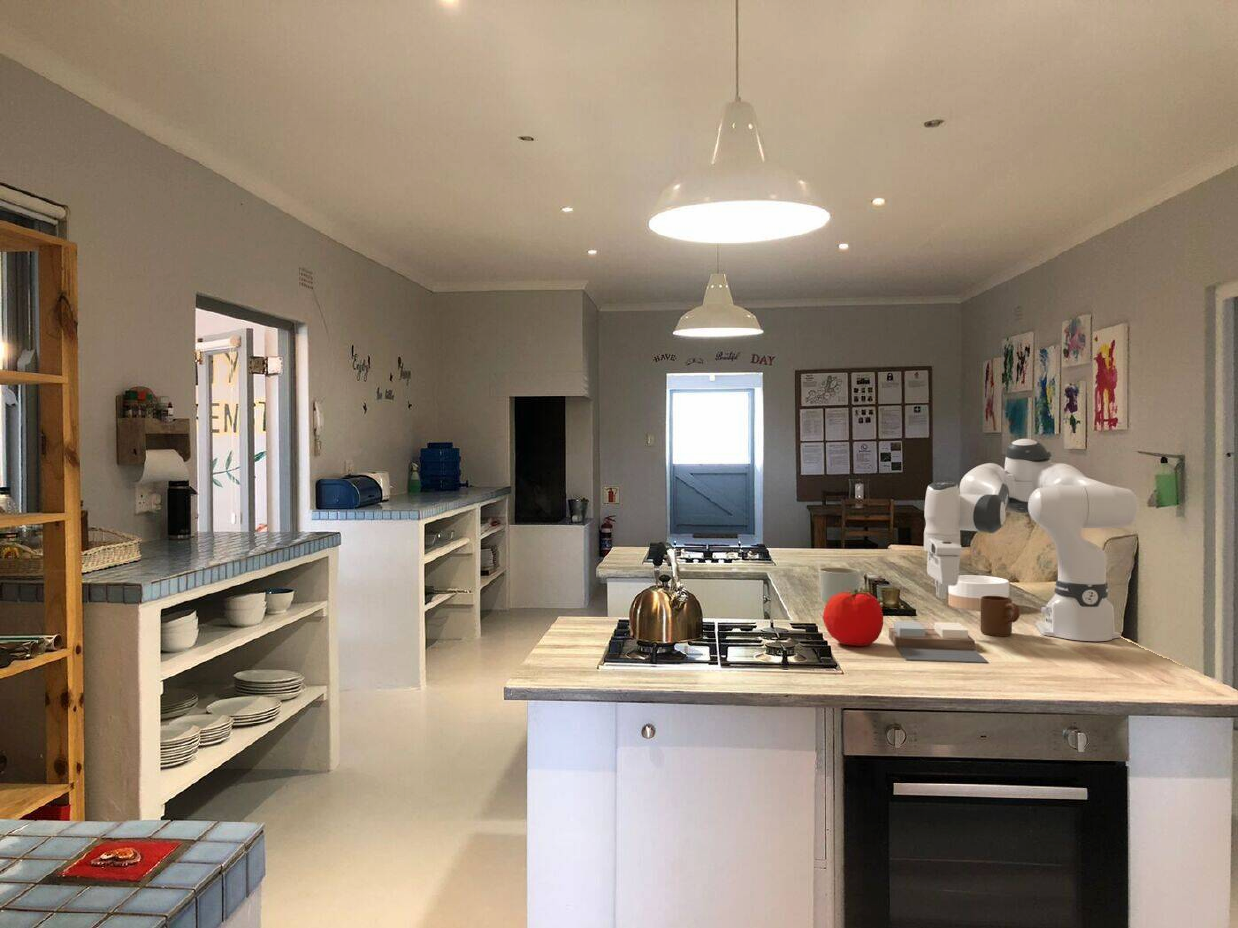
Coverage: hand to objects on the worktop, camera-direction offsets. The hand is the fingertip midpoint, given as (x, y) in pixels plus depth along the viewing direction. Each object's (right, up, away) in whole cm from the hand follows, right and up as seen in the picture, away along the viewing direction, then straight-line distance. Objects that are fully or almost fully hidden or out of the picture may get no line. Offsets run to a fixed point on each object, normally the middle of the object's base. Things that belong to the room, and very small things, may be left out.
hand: (941, 597), depth 231 cm
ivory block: (-1, -7, -10) cm, 13 cm away
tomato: (-26, -10, -11) cm, 30 cm away
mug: (+16, -10, 0) cm, 19 cm away
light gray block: (-11, -7, -9) cm, 16 cm away
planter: (-16, -9, +43) cm, 46 cm away
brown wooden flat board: (-6, -10, -10) cm, 16 cm away
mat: (-8, -10, -22) cm, 26 cm away
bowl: (+27, -9, +42) cm, 50 cm away
